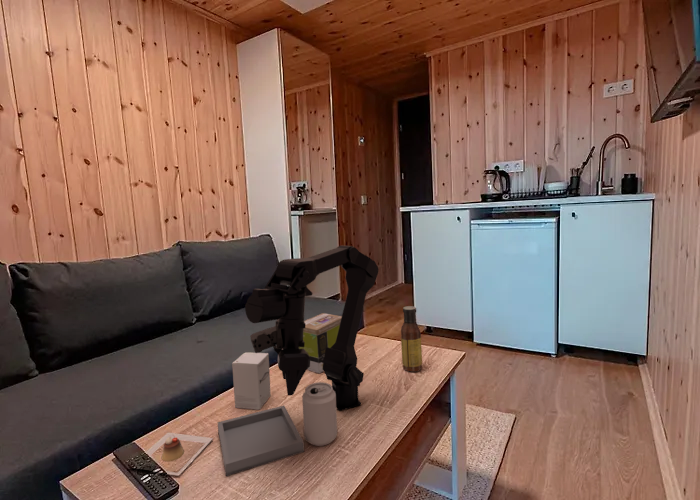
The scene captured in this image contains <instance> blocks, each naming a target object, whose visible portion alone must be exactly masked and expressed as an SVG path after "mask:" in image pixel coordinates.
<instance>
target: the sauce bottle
mask: <svg viewBox="0 0 700 500" xmlns="http://www.w3.org/2000/svg"><path fill="white" fill-rule="evenodd" d="M402 309H403V310H402V312H403V323H402V325H401V328H400V334H401V335H400V336H401V337H400V341H401V363H402V364H401V365H402V368H403V370H404V369H405V371H407V372H409V371H417V372H419V371H421V370H422V369H423V354H422V333H421V330H420V328H419V325H418V322H417V316H416V315H417V314H416V313H417V308H416V306H413V305H412V306H411V305H408V306H404V307H402ZM421 368H422V369H421ZM420 369H421V370H420ZM418 370H419V371H418Z"/></svg>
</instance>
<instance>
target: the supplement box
mask: <svg viewBox="0 0 700 500" xmlns="http://www.w3.org/2000/svg"><path fill="white" fill-rule="evenodd" d="M269 358H270V357H269V353H268V352H266V353H265V352H260V353H255V352H244V353H242V354H241V355H240V356H239V357H237V358H236V360H234V361H233V362H232V363H231V365H232V381H233V393H234V394H233V396H234V408H235V409H236V408H237V409H244V410H257V411H259V410H260V411H261V409H262V407H263V406H264V405H265V403H266V402H267V401H268V400H269V399H270V397H271V396H272V395H271V394H272V393H271V377H270V376H271V375H270V373H271V372H270V361H269V360H270V359H269Z"/></svg>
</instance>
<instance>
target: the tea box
mask: <svg viewBox="0 0 700 500" xmlns="http://www.w3.org/2000/svg"><path fill="white" fill-rule="evenodd" d="M341 318H342V315H336V314H330V313H326V312H322V313H320V314H318V315H314V316H312V317H310V318H308V319H304V322H305V328H304V331H303V341H304V342H305V344H304V347H299V349H304V350H305V351H306V352H307V353H308V354H309V356H310V367H308V369H307V370H306V371H310V372H313V373H315V374H321V373H324V370H323V363H322V361H323V359H324V355H325V350H326V348H327V347H328V348H331V347H332V346H333V344H334V343H335V342H336V338H337V334H338V330H339V326H340V322H341Z"/></svg>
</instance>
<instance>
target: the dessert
mask: <svg viewBox="0 0 700 500" xmlns="http://www.w3.org/2000/svg"><path fill="white" fill-rule="evenodd" d="M213 439H214V437H208V436H207V437H206V436H200V435H192V434H183V433H182V434H181V433H176V432H175V433H174V432H166V433H165V434H164V435H163V436H162V437H161V438H160V439H158V441H156V442H155V443H153V444H152V446H151V447H150V448H147V450H146V451H145V452H144V453H146V454H148V455H149V457H151V456H152V455H153V454H154V453H155V452H156V451H157V450H158V449H159V448H161V447H162V446H163V448H162V454H161V460H162V461H163V462H167V463H169V462H175V461H176V460H179V459H180V458H182V456H184V454H185V449H184V447H183V445H182V443H181V441H183V442H184V441H185V442H193V443H194V442H195V443H201V444H203V445H202V446H201V447H200V448H199V449H198V450H197V452H196V453H194V455H193V456H192V457H191V458H190V459H189V460H188V461H187V462H186V463H185V464H184V466H182V467H181V468H180V470H179V471H177V472H174V471H169V470H166V471H167V474H166V475H170V476H175V477H177V476H178V477H179V476H180V475H181V474H182V473H183V472H184V471H185V470H186V468H187V467H188V466H190V464H191V463H193V462H194V460H195V459H196V458H197V457H198V456H199V455H200V453H201V452H203V450H205V448H206V447H207V446H208V445H209V444H210V443H211V442H212V440H213Z"/></svg>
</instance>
